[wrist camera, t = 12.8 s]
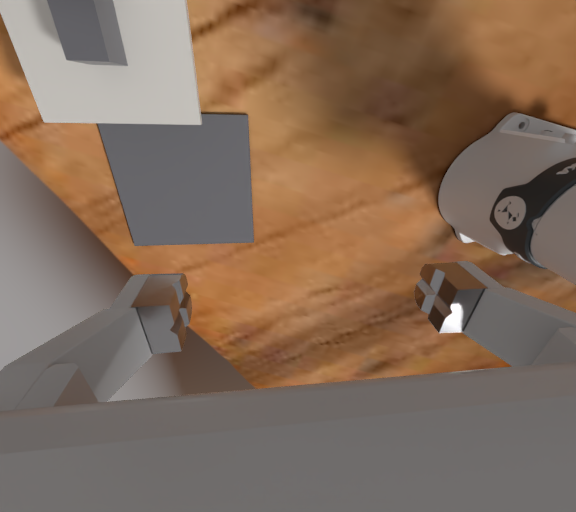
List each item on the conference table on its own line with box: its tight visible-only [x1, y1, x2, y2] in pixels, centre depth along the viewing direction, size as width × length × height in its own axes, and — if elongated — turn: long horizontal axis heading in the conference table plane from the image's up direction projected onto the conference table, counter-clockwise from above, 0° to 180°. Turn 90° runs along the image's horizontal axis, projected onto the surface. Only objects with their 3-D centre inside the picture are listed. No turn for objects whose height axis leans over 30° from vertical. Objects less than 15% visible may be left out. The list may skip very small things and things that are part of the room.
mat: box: [97, 114, 254, 246], centre depth 35 cm, size 17×17×1 cm
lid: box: [0, 0, 202, 125], centre depth 21 cm, size 14×14×4 cm
